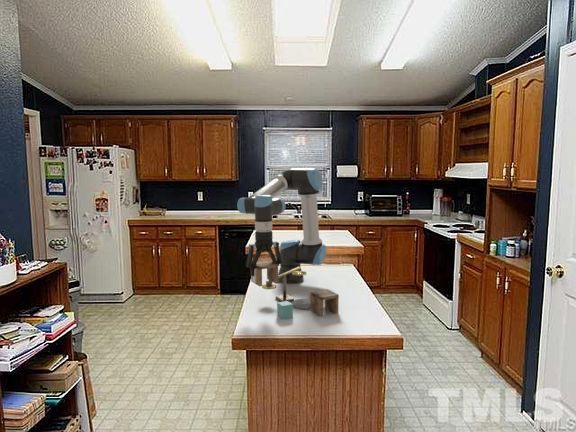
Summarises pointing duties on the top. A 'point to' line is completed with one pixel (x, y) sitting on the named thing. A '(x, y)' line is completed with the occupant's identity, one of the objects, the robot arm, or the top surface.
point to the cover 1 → (271, 271)
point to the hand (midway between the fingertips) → (264, 281)
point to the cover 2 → (318, 298)
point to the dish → (301, 304)
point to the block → (285, 310)
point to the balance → (284, 285)
